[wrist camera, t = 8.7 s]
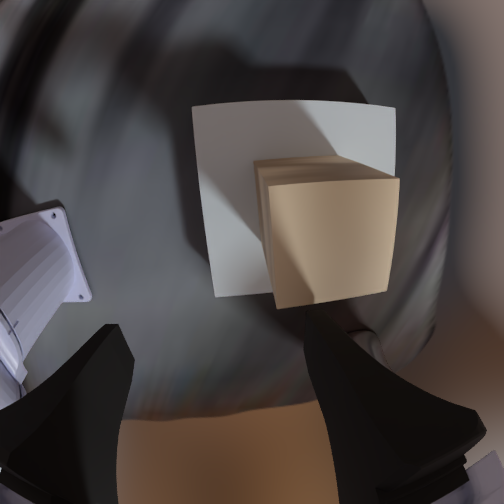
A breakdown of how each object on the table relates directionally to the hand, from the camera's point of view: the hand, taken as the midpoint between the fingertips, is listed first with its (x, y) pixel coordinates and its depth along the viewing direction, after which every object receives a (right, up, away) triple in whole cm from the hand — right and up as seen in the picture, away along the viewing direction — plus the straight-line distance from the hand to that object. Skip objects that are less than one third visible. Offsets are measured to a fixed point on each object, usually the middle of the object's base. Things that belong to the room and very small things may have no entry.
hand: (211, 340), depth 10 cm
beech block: (+4, +6, +4) cm, 9 cm away
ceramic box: (+4, +7, +8) cm, 12 cm away
